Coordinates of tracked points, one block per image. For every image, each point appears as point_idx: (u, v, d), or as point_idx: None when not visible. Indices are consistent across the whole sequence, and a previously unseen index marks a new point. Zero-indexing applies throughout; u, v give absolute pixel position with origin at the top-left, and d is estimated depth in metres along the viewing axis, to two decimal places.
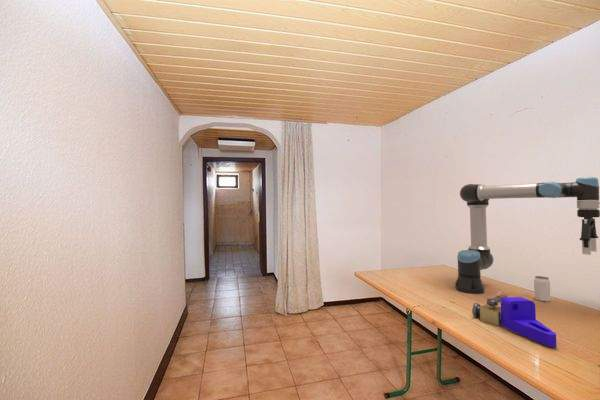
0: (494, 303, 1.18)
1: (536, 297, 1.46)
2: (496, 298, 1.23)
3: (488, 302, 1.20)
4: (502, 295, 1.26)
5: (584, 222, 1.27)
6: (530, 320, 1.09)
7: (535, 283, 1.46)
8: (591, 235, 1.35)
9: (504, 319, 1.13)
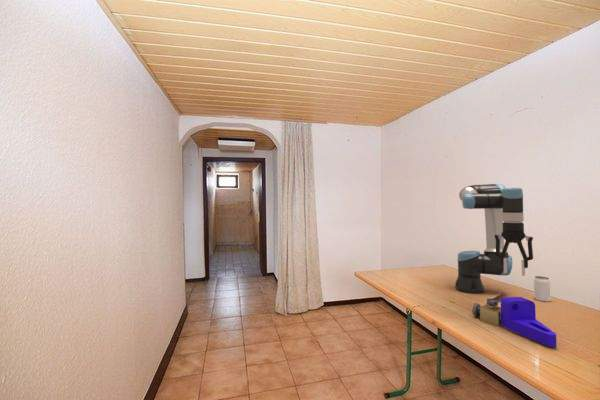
0: (494, 303, 1.18)
1: (536, 297, 1.46)
2: (496, 298, 1.23)
3: (488, 302, 1.20)
4: (502, 295, 1.26)
5: None
6: (530, 320, 1.09)
7: (535, 283, 1.46)
8: (504, 254, 1.23)
9: (504, 319, 1.13)
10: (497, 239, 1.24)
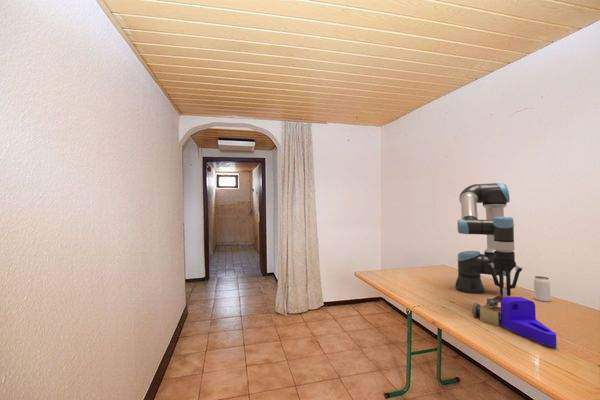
0: (494, 303, 1.18)
1: (536, 297, 1.46)
2: (496, 298, 1.23)
3: (488, 302, 1.20)
4: (502, 295, 1.26)
5: (520, 271, 1.19)
6: (530, 320, 1.09)
7: (535, 283, 1.46)
8: (503, 283, 1.23)
9: (504, 319, 1.13)
10: (491, 268, 1.26)
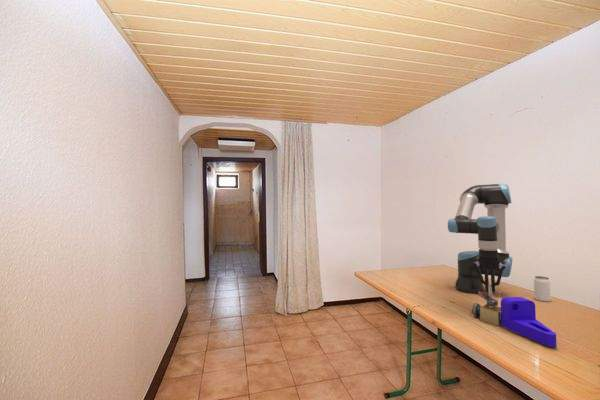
0: (497, 303, 1.18)
1: (536, 297, 1.46)
2: (487, 297, 1.24)
3: (491, 303, 1.18)
4: (483, 292, 1.30)
5: (504, 269, 1.23)
6: (530, 320, 1.09)
7: (535, 283, 1.46)
8: (488, 281, 1.27)
9: (504, 319, 1.13)
10: (476, 267, 1.29)
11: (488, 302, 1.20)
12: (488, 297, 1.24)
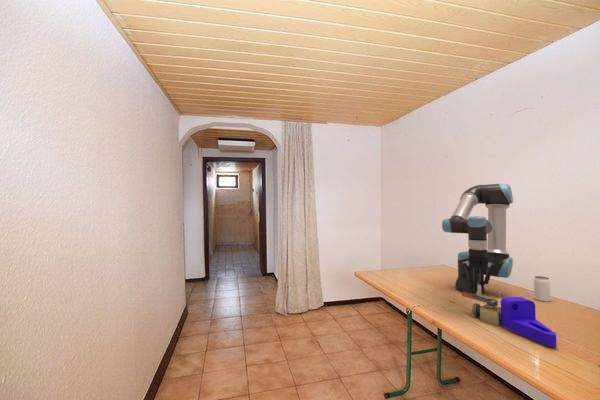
0: None
1: (536, 297, 1.46)
2: (481, 297, 1.24)
3: (495, 303, 1.18)
4: (468, 293, 1.30)
5: None
6: (530, 320, 1.09)
7: (535, 283, 1.46)
8: None
9: (504, 319, 1.13)
10: (466, 266, 1.30)
11: (491, 303, 1.18)
12: (482, 297, 1.24)
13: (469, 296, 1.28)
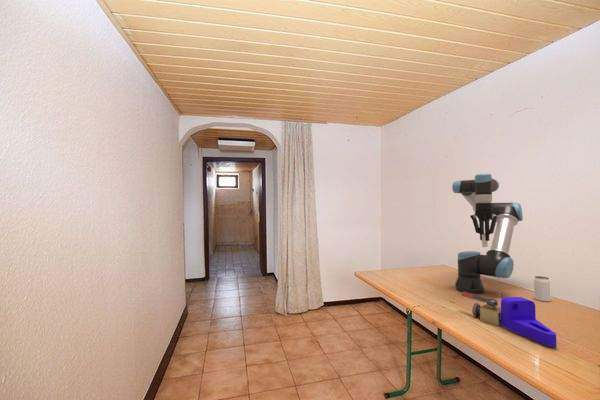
0: None
1: (536, 297, 1.46)
2: (481, 297, 1.24)
3: (495, 303, 1.18)
4: (468, 293, 1.30)
5: (496, 219, 1.39)
6: (530, 320, 1.09)
7: (535, 283, 1.46)
8: (482, 230, 1.44)
9: (504, 319, 1.13)
10: (473, 218, 1.47)
11: (491, 303, 1.18)
12: (482, 297, 1.24)
13: (469, 296, 1.28)
